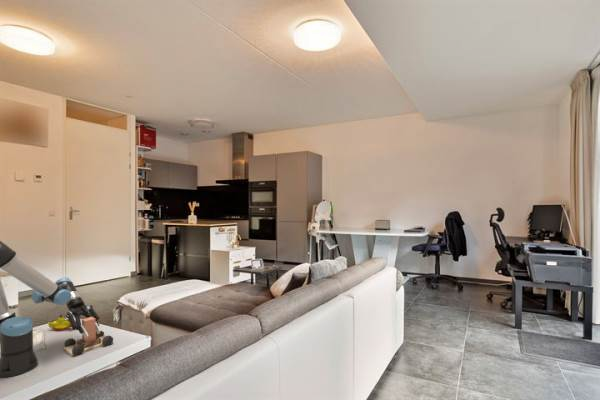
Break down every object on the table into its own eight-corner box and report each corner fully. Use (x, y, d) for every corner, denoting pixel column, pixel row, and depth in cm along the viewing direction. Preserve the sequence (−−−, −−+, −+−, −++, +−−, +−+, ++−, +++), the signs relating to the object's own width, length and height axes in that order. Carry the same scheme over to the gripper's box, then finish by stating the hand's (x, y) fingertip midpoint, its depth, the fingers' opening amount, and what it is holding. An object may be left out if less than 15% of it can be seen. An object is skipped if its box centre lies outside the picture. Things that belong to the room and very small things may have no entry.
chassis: (71, 357, 165) (71, 347, 165) (63, 349, 174) (62, 340, 174) (114, 343, 181) (114, 334, 181) (104, 337, 190) (103, 328, 190)
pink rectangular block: (85, 343, 174) (85, 321, 174) (82, 341, 177) (81, 319, 177) (95, 340, 178) (95, 318, 178) (92, 338, 181) (92, 316, 181)
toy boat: (73, 331, 200) (73, 315, 200) (44, 332, 200) (44, 315, 200) (80, 327, 206) (80, 311, 206) (53, 328, 207) (52, 312, 207)
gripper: (88, 300, 193) (106, 332, 186) (52, 311, 175) (71, 346, 168) (93, 292, 191) (112, 324, 184) (58, 302, 173) (78, 337, 166)
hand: (93, 334), depth 176 cm, fingers closed on pink rectangular block, 6 cm apart
